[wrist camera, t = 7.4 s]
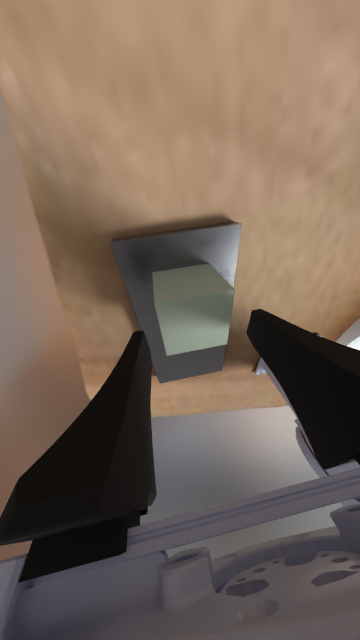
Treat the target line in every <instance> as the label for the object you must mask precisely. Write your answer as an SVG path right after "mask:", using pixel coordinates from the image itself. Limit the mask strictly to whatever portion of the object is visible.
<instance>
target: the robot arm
mask: <svg viewBox="0 0 360 640" xmlns="http://www.w3.org/2000/svg"><path fill="white" fill-rule="evenodd" d="M247 335H248V337H249V339H250V341H251V343H252V344H253V346H254V348H255V349H256V351H257V352H258V353H259V355H260V356H261V357H260V360H259V363H258V365H257V368H256V371H255V374H256V375H259V374H263V373H267V374H268V376H269V377H270V379H271V380H272V382H273V383H274V385H275V386H276V388H277V389H278V391H279V392H280V393H281V395H282V396H283V398H284V399H285V401H286V402H287V404H288V405H289V407H290V408H291V409H292V411H293V412H294V414H295V415H296V417H297V418H298V419H296V420H295V422H296V424H297V425H298V427H296V439H297V442H298V444H299V446H300V449H301V451H302V452H303V454H304V456H305V458H306V459H307V461H308V462H309V464H310V465H311V467H312V468H313V470H314V471H315V472H316V474H317V475H318V476H319V477H320V478H319V479H315V480H311V481H307V482H304V483H300V484H296V485H292V486H288V487H285V488H281V489H277V490H273V491H269V492H266V493H262V494H258V495H254V496H250V497H247V498H243V499H239V500H236V501H231V502H228V503H224V504H220V505H216V506H212V507H208V508H204V509H201V510H197V511H193V512H189V513H185V514H182V515H178V516H174V517H170V518H166V519H163V520H159V521H155V522H152V523H147V524H144V525H140V516H142V515H145V514H147V512H148V509H147V508H148V506H151V505H152V503H153V501H154V499H155V497H156V495H157V494H156V484H155V472H154V460H153V447H152V430H151V411H150V396H151V373H152V362H151V351H150V348H149V345H148V342H147V339H146V336H145V333H144V330H142V331H136V332H134V333H133V334H132V336H131V338H130V340H129V342H128V344H127V346H126V348H125V350H124V352H123V354H122V356H121V358H120V359H119V361H118V363H117V364H116V366H115V368H114V369H113V371H112V372H111V374H110V376H109V377H108V379H107V380H106V382H105V383H104V384H103V386H102V387H101V389H100V390H99V391H98V393H97V394H96V395H95V397H94V398H93V399H92V400H91V402H90V403H89V404H88V406H87V407H86V408H85V409H84V410H83V412H82V413H81V414H80V415H79V416H78V417H77V419H76V420H75V421H74V422H73V423H72V424H71V425H70V427H69V428H68V429H67V430H66V431H65V432H64V433H63V434H62V435H61V436H60V438H59V439H58V440H57V441H56V442H55V443H54V444H53V445H52V446H51V447H50V448H49V449H48V450H47V451H46V452H45V453H44V454H43V455H42V456H41V457H40V458H39V459H38V460H37V461H36V462H35V463H34V464H33V465H32V466H31V467H30V468H29V469H28V470H27V471H26V472H25V473H24V474H23V475H22V476H21V477H20V478H19V479H18V481H17V483H16V485H15V487H14V490H13V491H12V493H11V496H10V498H9V500H8V502H7V505H6V507H5V509H4V511H3V513H2V515H1V517H0V546H1V545H7V544H13V543H19V542H25V541H30V540H33V541H32V544H31V547H30V550H29V553H27V554H23V555H19V556H15V557H11V558H8V559H4V560H0V640H360V351H359V350H356V349H353V348H350V347H347V346H344V345H341V344H339V343H336V342H333V341H331V340H328V339H325V338H323V337H322V335H320V334H317V335H316V334H313V333H311V332H309V331H306V330H304V329H302V328H300V327H298V326H295V325H293V324H291V323H289V322H287V321H285V320H283V319H281V318H279V317H277V316H275V315H273V314H271V313H269V312H267V311H264V310H262V309H258V310H252V312H251V316H250V321H249V325H248V329H247ZM338 502H340V503H341V504H342V506H343V507H341V508H339V509H337V510H335V511H332V512H330V516H331V518H332V520H333V521H334V523H335V525H336V526H333V527H329V528H324V529H319V530H315V531H310V532H305V533H301V534H296V535H291V536H287V537H283V538H278V539H274V540H270V541H266V542H262V543H259V544H256V545H252V546H249V547H246V548H243V549H240V550H237V551H234V552H231V553H229V554H226V555H223V556H221V557H218V558H215V559H212V560H211V557H210V551H209V548H208V547H207V546H206V547H200V548H193V549H188V550H184V551H181V552H178V553H176V554H174V555H173V556H171V557H170V558H169V557H168V555H167V553H166V551H165V550H167V549H171V548H175V547H178V546H182V545H186V544H189V543H193V542H196V541H200V540H204V539H207V538H211V537H215V536H218V535H222V534H225V533H229V532H233V531H236V530H240V529H243V528H247V527H251V526H254V525H258V524H262V523H265V522H269V521H273V520H276V519H280V518H284V517H287V516H291V515H295V514H298V513H302V512H305V511H309V510H312V509H316V508H320V507H324V506H327V505H331V504H334V503H338Z"/></svg>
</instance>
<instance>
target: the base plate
mask: <svg viewBox="0 0 360 640" xmlns="http://www.w3.org/2000/svg"><path fill="white" fill-rule="evenodd" d="M240 231H241V223H238V222H229V223H222V224H215V225H208V226H201V227H194V228H187V229H180V230H173V231H166V232H159V233H152V234H145V235H138V236H131V237H124V238H117V239H113V240H112V241H111V242H110V243H111V246H112V249H113V252H114V255H115V257H116V260H117V263H118V266H119V269H120V272H121V274H122V277H123V280H124V283H125V286H126V289H127V292H128V294H129V297H130V300H131V303H132V306H133V309H134V311H135V314H136V317H137V320H138V323H139V326H140V328H141V331H142V330H144V333H145V336H146V339H147V342H148V345H149V348H150V351H151V360H152V363H153V365H154V368H155V371H156V374H157V377H158V380H159V382H160V383H164V382H169V381H174V380H179V379H184V378H188V377H193V376H198V375H203V374H208V373H212V372H217V371H222V368H223V361H224V353H225V346H226V344H225V345H220V346H215V347H210V348H205V349H200V350H195V351H190V352H184V353H179V354H174V355H169V356H167V354H166V350H165V346H164V342H163V338H162V333H161V329H160V325H159V321H158V317H157V312H156V308H155V304H154V290H153V275H152V272H157V271H164V270H170V269H176V268H183V267H189V266H196V265H202V264H208V263H210V264H211V265H212V266H213V267H214V268H215V269H216V270H217V272H218V273H219V274H220V275H221V276H222V277H223V278H224V279H225V280H226V281H227V282H228V283H229V284H230V285H231V286H232V287H233V285H234V277H235V269H236V262H237V254H238V247H239V239H240Z"/></svg>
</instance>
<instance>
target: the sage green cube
mask: <svg viewBox="0 0 360 640" xmlns="http://www.w3.org/2000/svg"><path fill="white" fill-rule="evenodd" d="M152 275H153V290H154V304H155V308H156V312H157V317H158V321H159V325H160V329H161V333H162V338H163V342H164V346H165V350H166V354H167V356H169V355H174V354H179V353H184V352H190V351H195V350H200V349H205V348H210V347H215V346H220V345H225V344H227V341H228V334H229V327H230V320H231V313H232V306H233V299H234V292H235V289H234V288H233V287H232V286H231V285H230V284H229V283H228V282H227V281H226V280H225V279H224V278H223V277H222V276H221V275H220V274H219V273H218V272H217V270H216V269H215V268H214V267H213V266H212V265H211V264H210V263H208V264H202V265H196V266H189V267H183V268H176V269H170V270H164V271H157V272H152Z"/></svg>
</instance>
